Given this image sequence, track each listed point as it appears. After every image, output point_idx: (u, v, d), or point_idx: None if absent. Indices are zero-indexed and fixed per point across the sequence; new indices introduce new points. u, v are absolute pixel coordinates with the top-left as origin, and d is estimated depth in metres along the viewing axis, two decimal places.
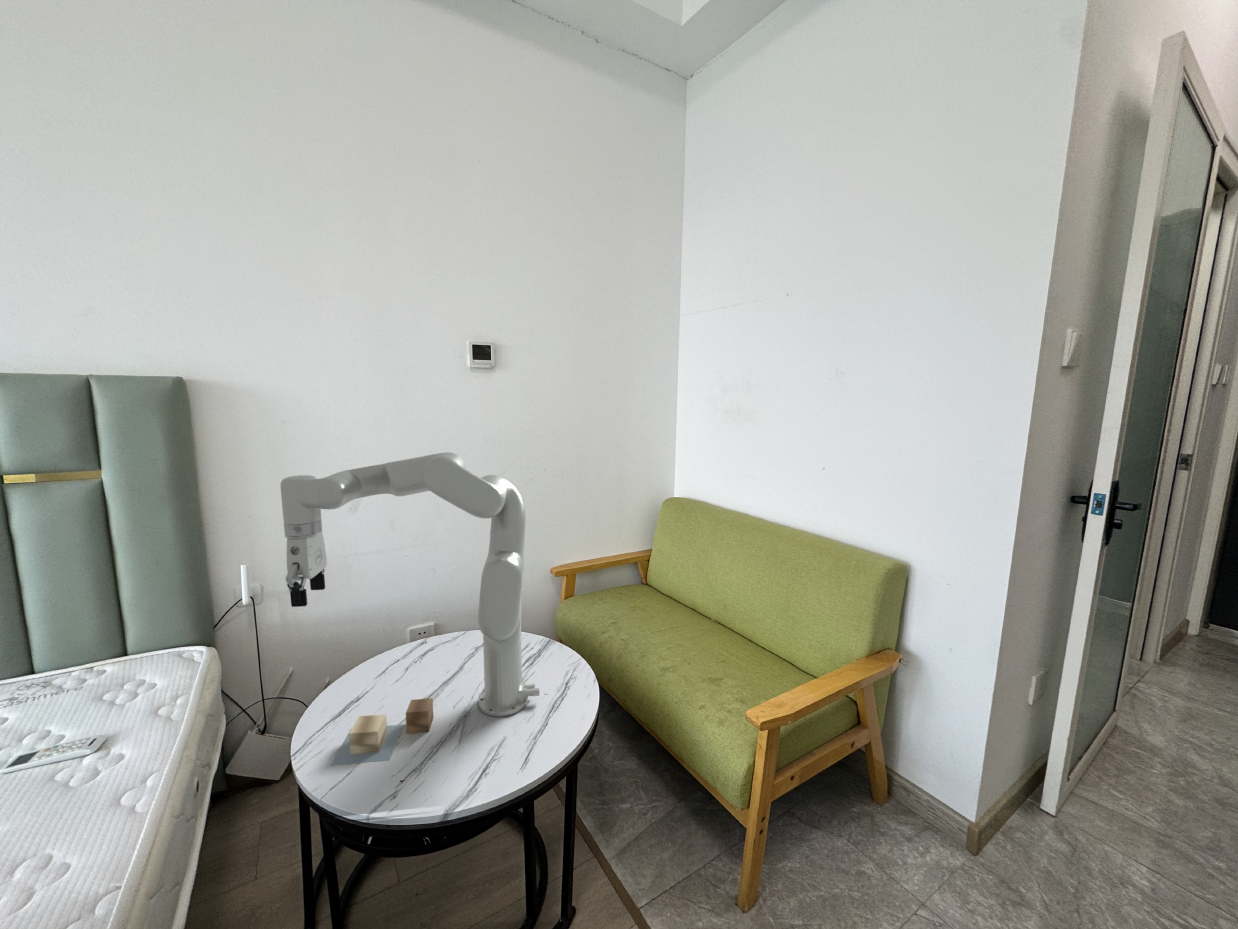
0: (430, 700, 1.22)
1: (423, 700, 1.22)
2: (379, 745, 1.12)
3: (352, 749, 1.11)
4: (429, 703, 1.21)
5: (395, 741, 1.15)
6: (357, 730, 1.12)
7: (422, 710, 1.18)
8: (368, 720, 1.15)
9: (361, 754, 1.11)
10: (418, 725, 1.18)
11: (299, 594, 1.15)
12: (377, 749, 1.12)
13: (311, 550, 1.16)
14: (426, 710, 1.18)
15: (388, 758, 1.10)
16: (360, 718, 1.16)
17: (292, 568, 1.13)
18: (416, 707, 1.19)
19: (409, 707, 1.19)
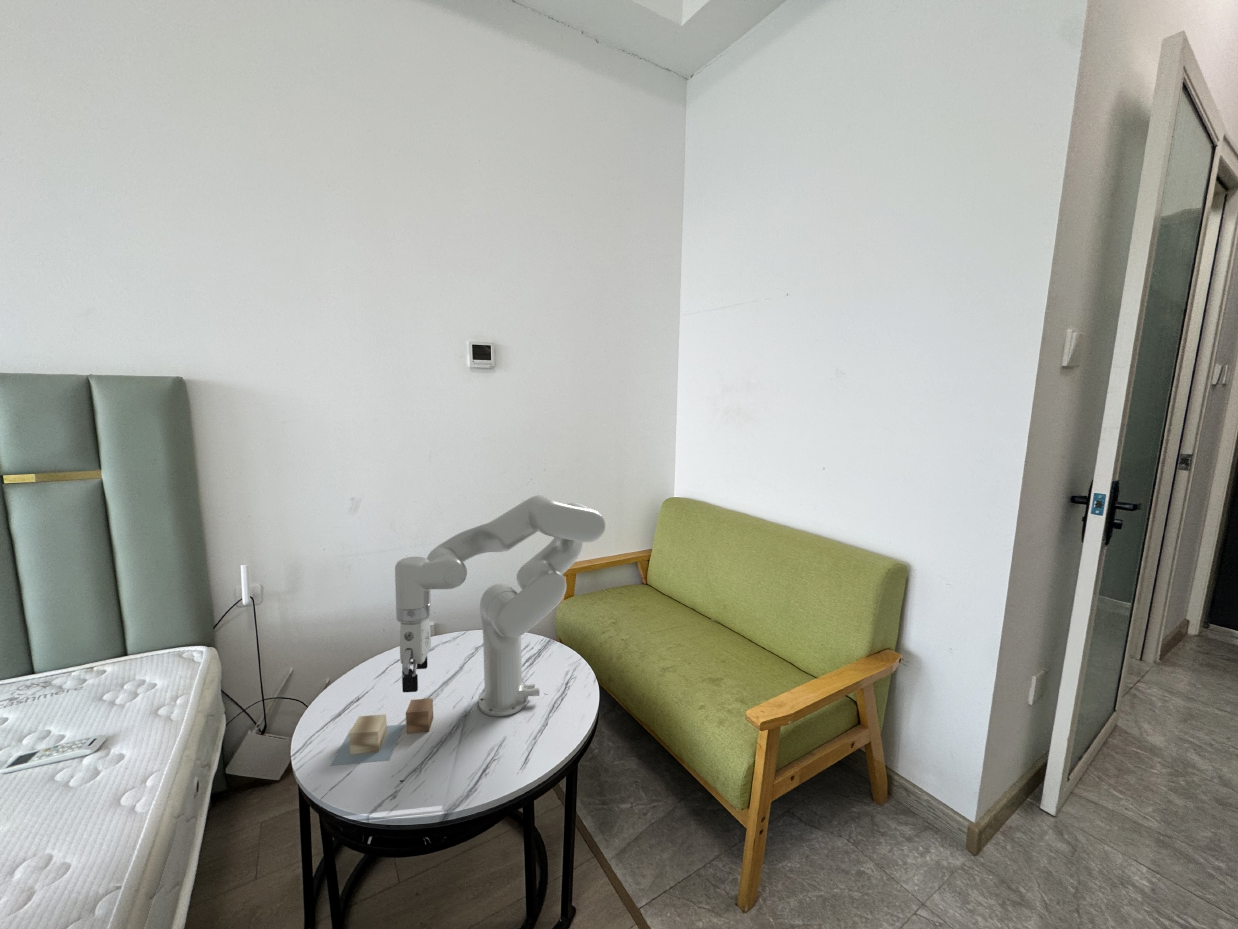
0: (430, 700, 1.22)
1: (423, 700, 1.22)
2: (379, 745, 1.12)
3: (352, 749, 1.11)
4: (429, 703, 1.21)
5: (395, 741, 1.15)
6: (357, 730, 1.12)
7: (422, 710, 1.18)
8: (368, 720, 1.15)
9: (361, 754, 1.11)
10: (418, 725, 1.18)
11: (411, 680, 1.13)
12: (377, 749, 1.12)
13: (423, 634, 1.15)
14: (426, 710, 1.18)
15: (388, 758, 1.10)
16: (360, 718, 1.16)
17: (406, 655, 1.12)
18: (416, 707, 1.19)
19: (409, 707, 1.19)
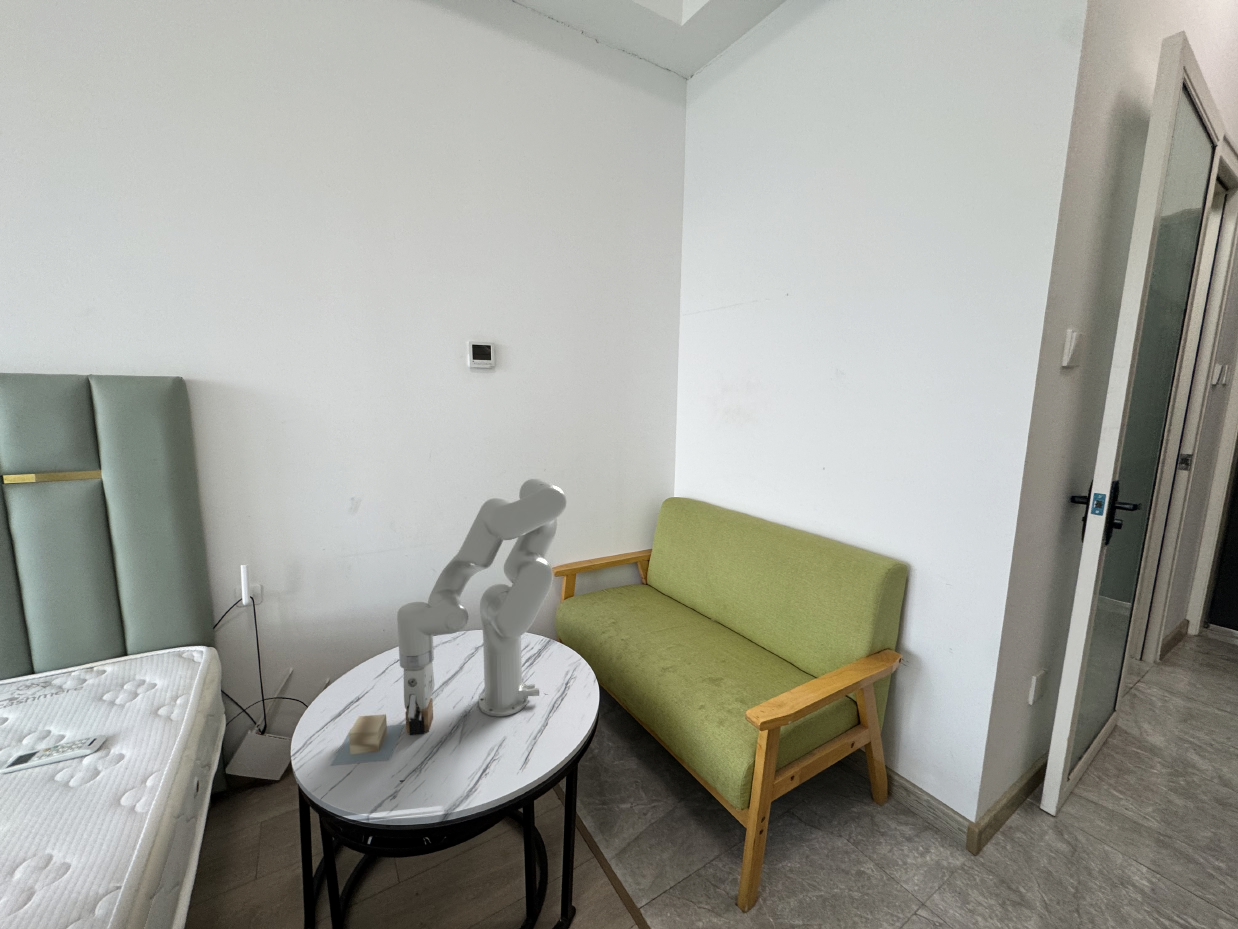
0: (430, 700, 1.22)
1: None
2: (379, 745, 1.12)
3: (352, 749, 1.11)
4: (429, 703, 1.21)
5: (395, 741, 1.15)
6: (357, 730, 1.12)
7: None
8: (368, 720, 1.15)
9: (361, 754, 1.11)
10: None
11: (418, 724, 1.17)
12: (377, 749, 1.12)
13: (426, 679, 1.17)
14: (426, 710, 1.18)
15: (388, 758, 1.10)
16: (360, 718, 1.16)
17: (411, 704, 1.14)
18: None
19: None
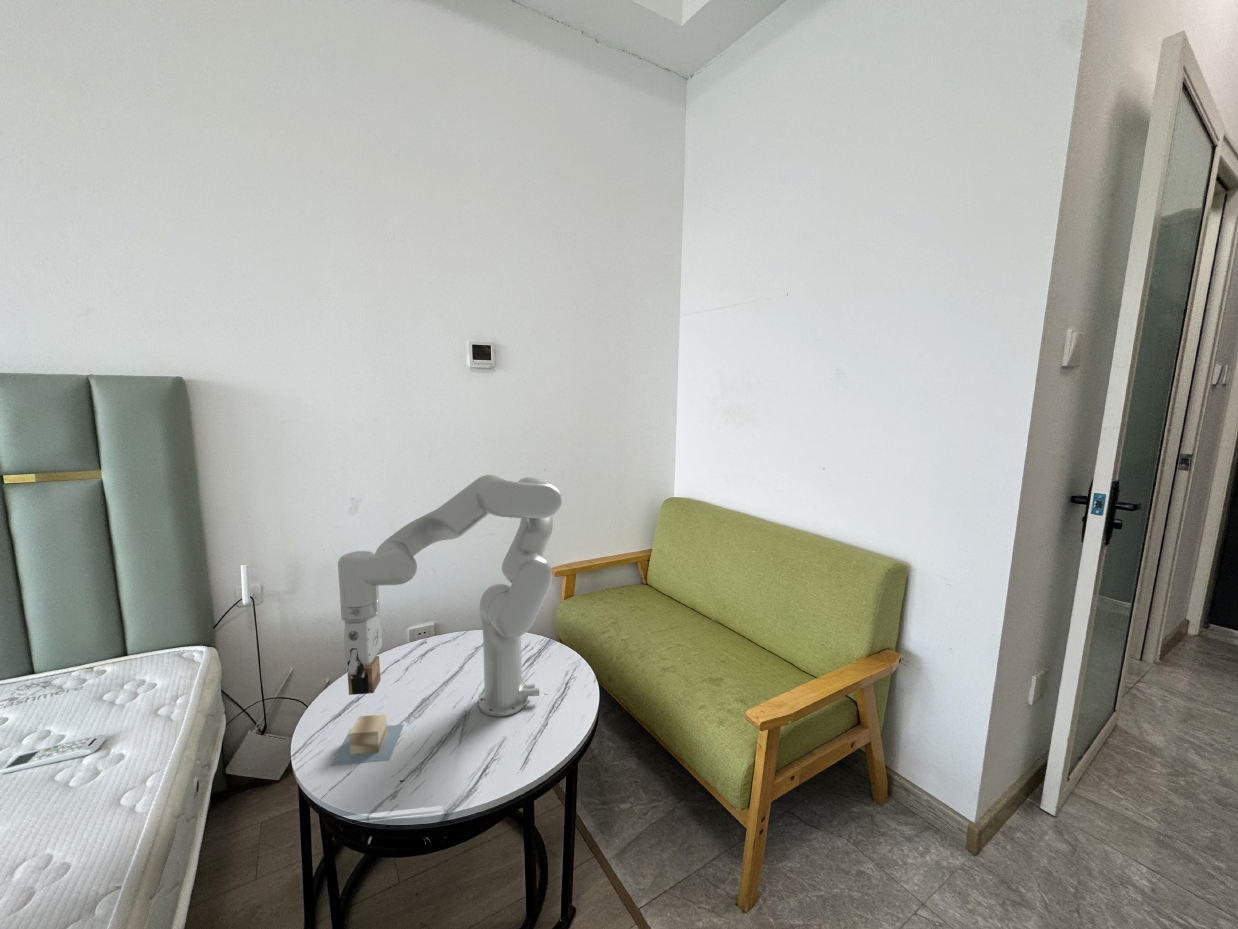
0: (376, 658, 1.14)
1: None
2: (379, 745, 1.12)
3: (352, 749, 1.11)
4: (374, 660, 1.12)
5: (395, 741, 1.15)
6: (357, 730, 1.12)
7: None
8: (368, 720, 1.15)
9: (361, 754, 1.11)
10: None
11: (361, 681, 1.08)
12: (377, 749, 1.12)
13: (370, 633, 1.08)
14: (370, 667, 1.10)
15: (388, 758, 1.10)
16: (360, 718, 1.16)
17: (352, 659, 1.06)
18: None
19: None
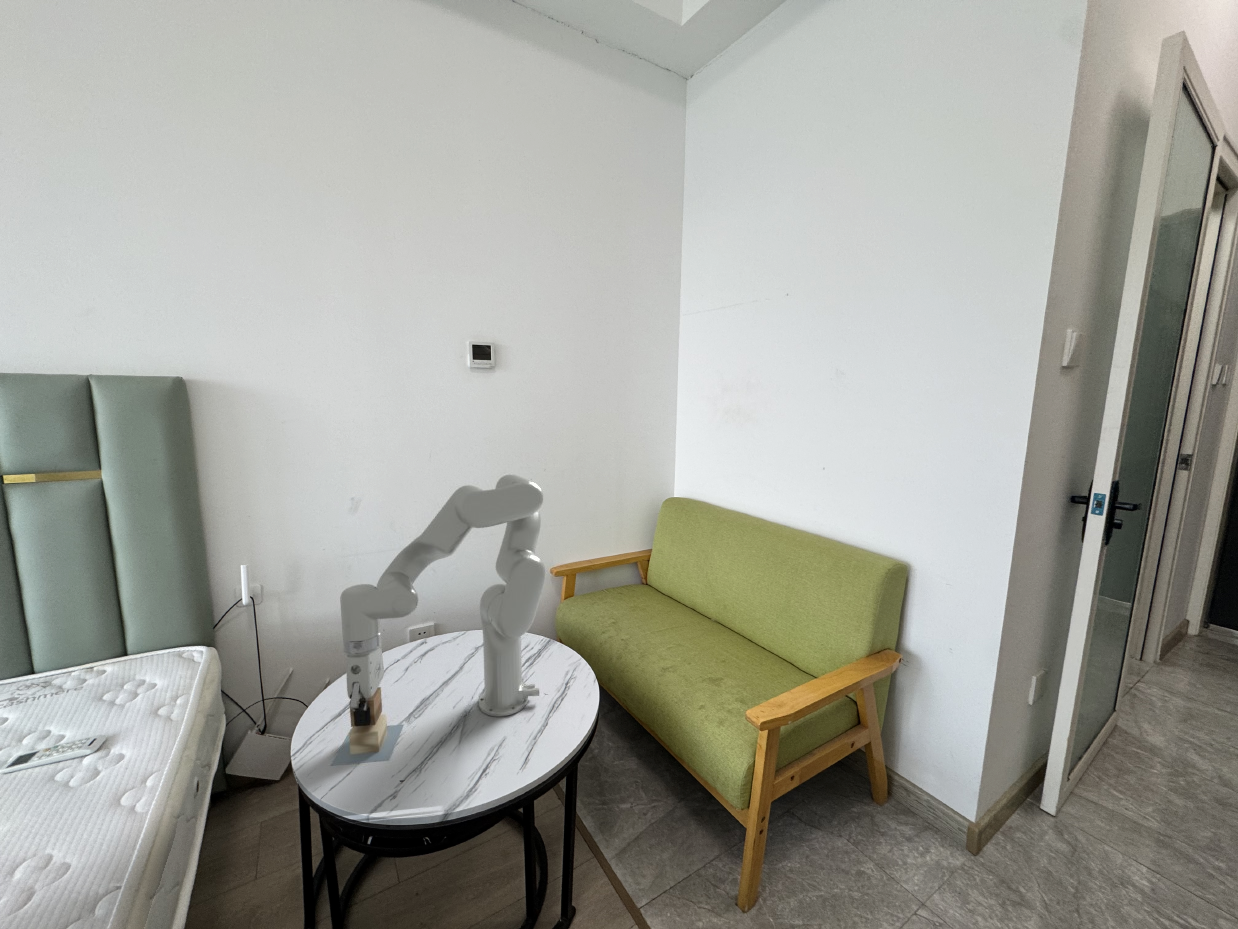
0: (378, 689, 1.15)
1: None
2: (379, 745, 1.12)
3: (352, 749, 1.11)
4: (376, 692, 1.14)
5: (395, 741, 1.15)
6: (357, 730, 1.12)
7: None
8: None
9: (361, 754, 1.11)
10: None
11: (363, 714, 1.10)
12: (377, 749, 1.12)
13: (372, 666, 1.09)
14: (372, 699, 1.11)
15: (388, 758, 1.10)
16: None
17: (354, 692, 1.07)
18: None
19: None
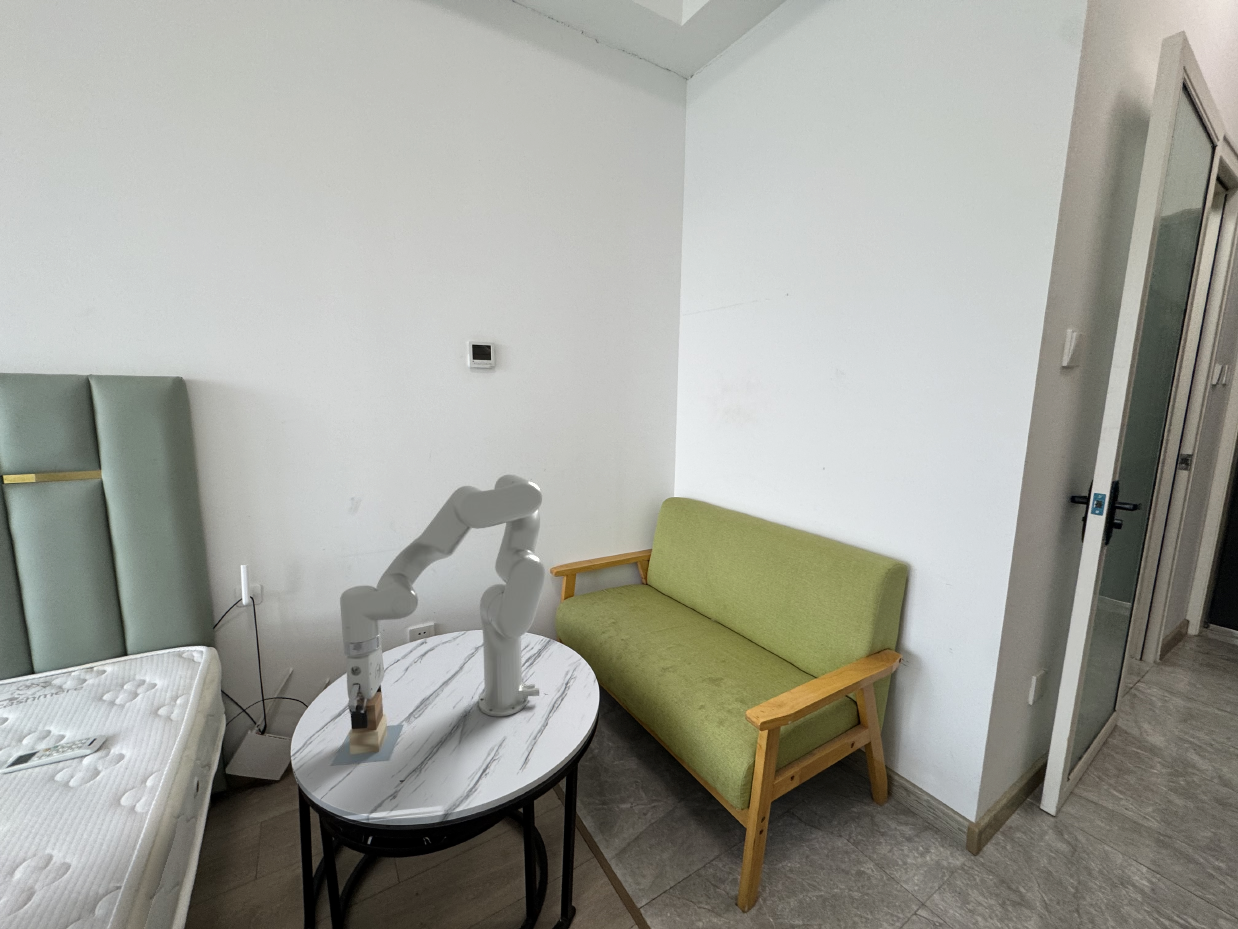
0: (379, 694, 1.15)
1: None
2: (379, 745, 1.12)
3: (352, 749, 1.11)
4: (377, 697, 1.14)
5: (395, 741, 1.15)
6: None
7: (368, 704, 1.11)
8: None
9: (361, 754, 1.11)
10: None
11: (360, 717, 1.08)
12: (377, 749, 1.12)
13: (372, 667, 1.09)
14: (373, 704, 1.11)
15: (388, 758, 1.10)
16: None
17: (353, 691, 1.06)
18: None
19: None
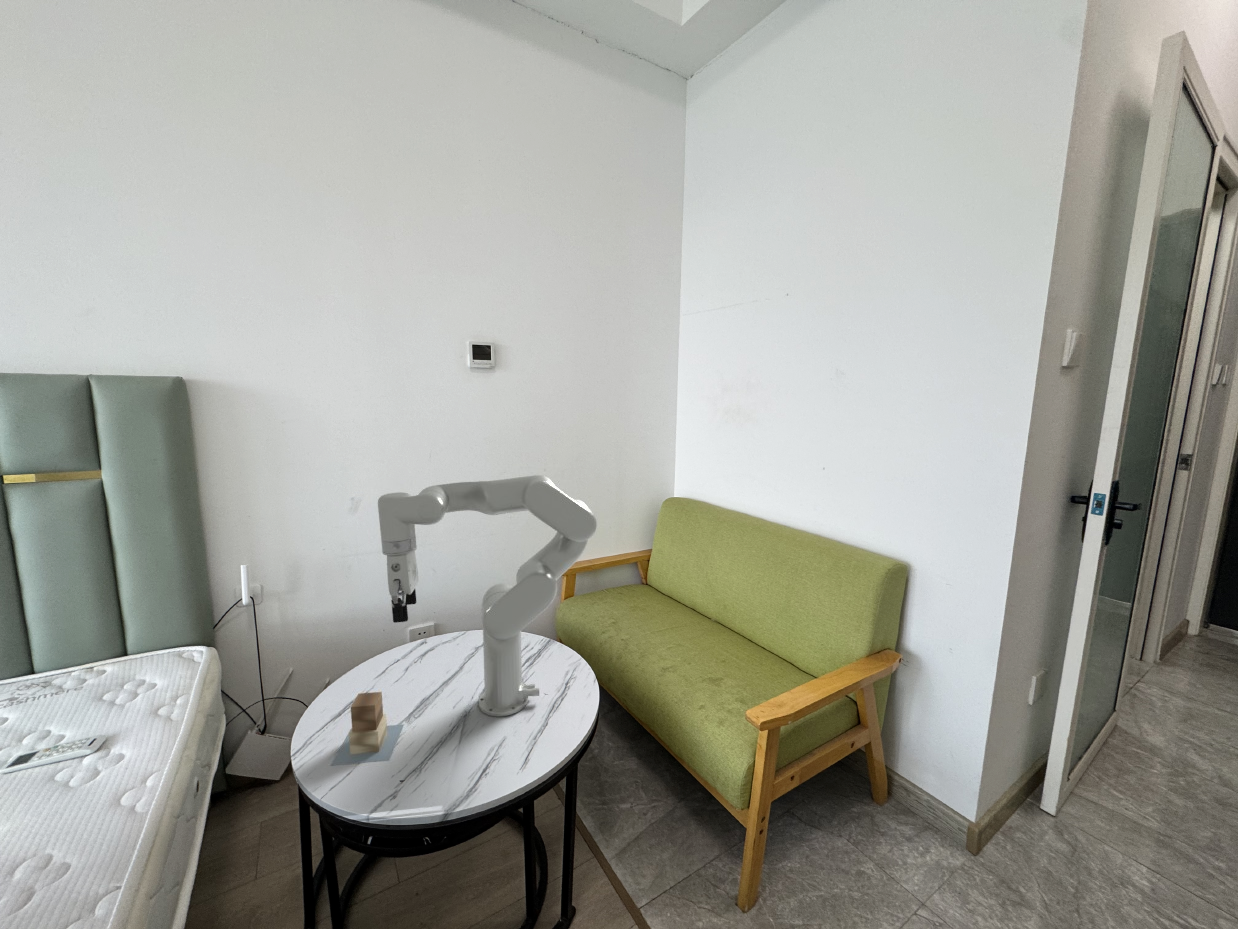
0: (379, 694, 1.15)
1: (371, 694, 1.15)
2: (379, 745, 1.12)
3: (352, 749, 1.11)
4: (377, 697, 1.14)
5: (395, 741, 1.15)
6: None
7: (368, 704, 1.11)
8: None
9: (361, 754, 1.11)
10: (365, 720, 1.11)
11: (401, 610, 1.16)
12: (377, 749, 1.12)
13: (410, 566, 1.18)
14: (373, 704, 1.11)
15: (388, 758, 1.10)
16: None
17: (395, 585, 1.15)
18: (362, 701, 1.12)
19: (355, 701, 1.12)
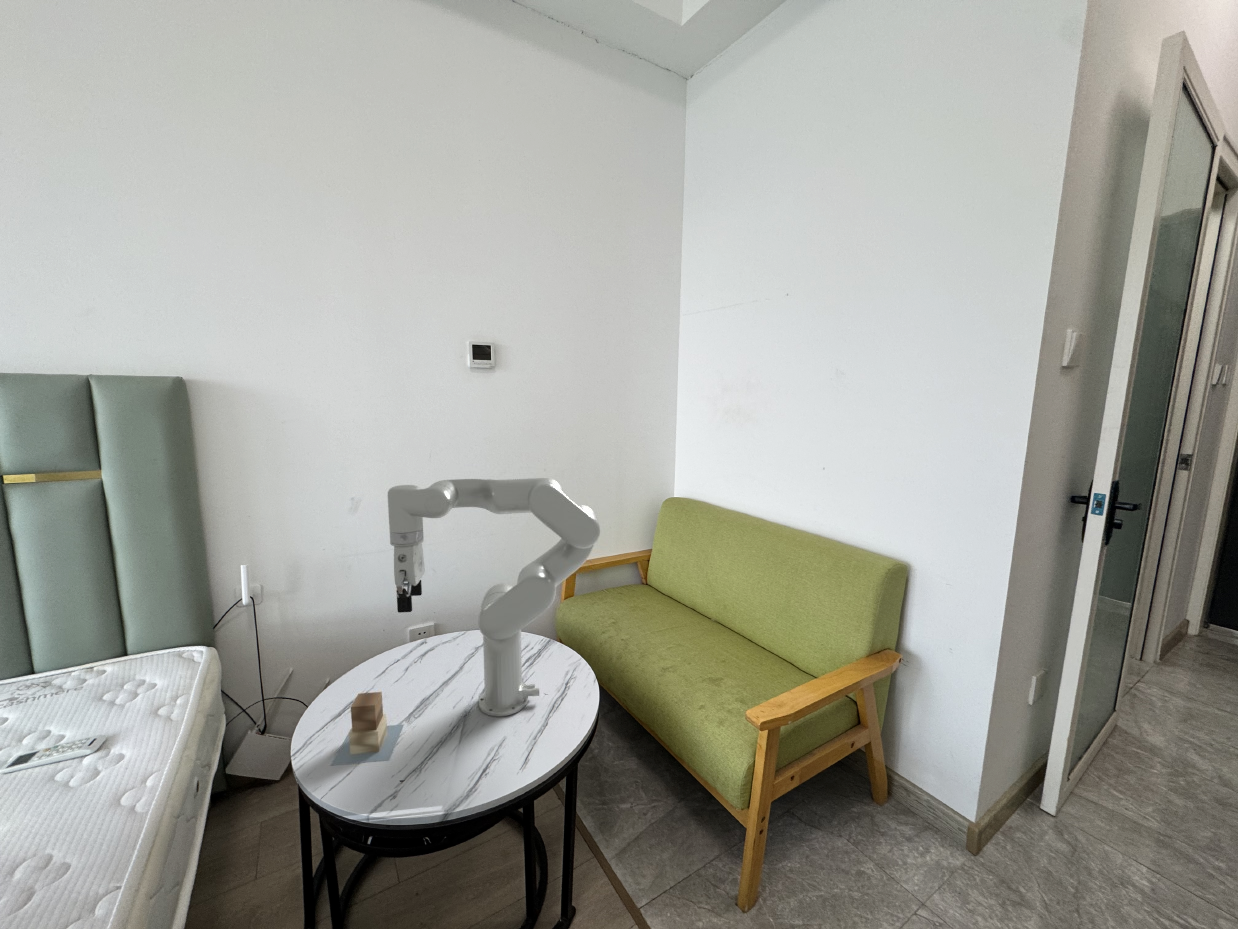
0: (379, 694, 1.15)
1: (371, 694, 1.15)
2: (379, 745, 1.12)
3: (352, 749, 1.11)
4: (377, 697, 1.14)
5: (395, 741, 1.15)
6: None
7: (368, 704, 1.11)
8: None
9: (361, 754, 1.11)
10: (365, 720, 1.11)
11: (406, 600, 1.18)
12: (377, 749, 1.12)
13: (416, 557, 1.20)
14: (373, 704, 1.11)
15: (388, 758, 1.10)
16: None
17: (400, 575, 1.17)
18: (362, 701, 1.12)
19: (355, 701, 1.12)
